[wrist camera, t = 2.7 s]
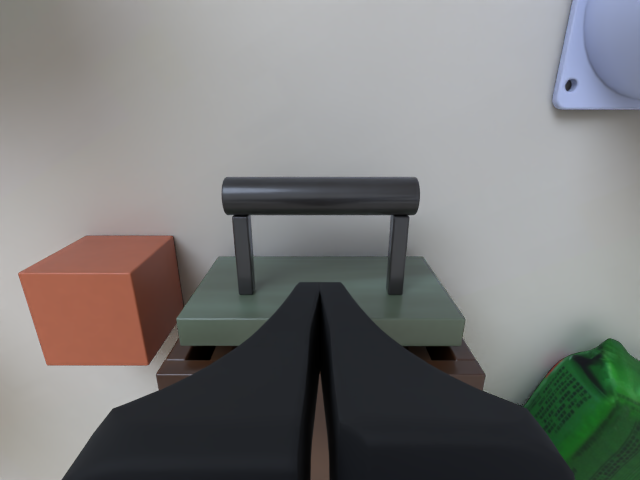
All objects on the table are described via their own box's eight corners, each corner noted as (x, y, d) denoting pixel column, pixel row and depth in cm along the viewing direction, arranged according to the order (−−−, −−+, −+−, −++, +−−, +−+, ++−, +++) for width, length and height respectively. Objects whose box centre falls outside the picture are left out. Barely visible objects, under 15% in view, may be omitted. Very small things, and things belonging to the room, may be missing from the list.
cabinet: (214, 278, 20) (155, 374, 13) (426, 278, 20) (486, 375, 13) (234, 460, 25) (199, 604, 17) (406, 460, 25) (441, 605, 17)
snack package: (434, 489, 26) (461, 580, 21) (574, 313, 21) (653, 378, 16) (518, 516, 27) (563, 609, 22) (671, 355, 22) (774, 428, 17)
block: (85, 235, 19) (16, 272, 15) (173, 235, 19) (130, 273, 15) (103, 311, 21) (46, 365, 16) (184, 311, 21) (148, 366, 16)
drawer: (208, 162, 17) (154, 188, 11) (433, 162, 17) (486, 188, 11) (237, 440, 23) (211, 545, 17) (403, 440, 23) (429, 545, 17)
